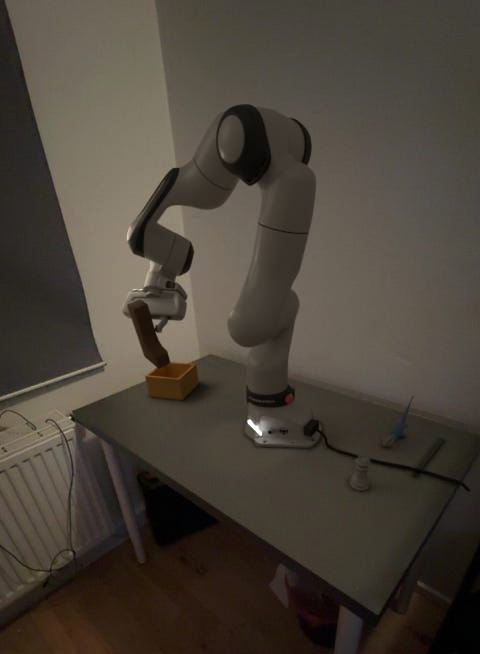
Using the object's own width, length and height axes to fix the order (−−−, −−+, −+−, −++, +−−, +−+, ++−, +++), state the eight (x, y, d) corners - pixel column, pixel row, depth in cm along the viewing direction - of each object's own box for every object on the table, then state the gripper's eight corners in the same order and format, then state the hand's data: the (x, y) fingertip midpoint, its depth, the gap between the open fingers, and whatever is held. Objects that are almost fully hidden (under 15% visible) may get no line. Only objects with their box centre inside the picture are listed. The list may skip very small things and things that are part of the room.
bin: (198, 383, 133) (196, 364, 129) (182, 400, 122) (178, 379, 118) (167, 380, 137) (164, 361, 133) (149, 396, 127) (144, 376, 122)
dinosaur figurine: (389, 446, 99) (378, 444, 91) (410, 396, 96) (401, 390, 89) (399, 450, 97) (389, 449, 90) (421, 399, 95) (412, 394, 87)
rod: (443, 442, 94) (444, 439, 93) (415, 478, 82) (416, 476, 82) (440, 441, 94) (441, 439, 94) (412, 477, 83) (413, 474, 83)
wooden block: (171, 362, 107) (156, 309, 94) (158, 369, 106) (141, 315, 92) (156, 351, 112) (140, 298, 99) (144, 357, 111) (126, 304, 97)
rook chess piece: (365, 478, 83) (370, 451, 79) (372, 491, 79) (377, 463, 75) (346, 479, 83) (350, 452, 79) (352, 492, 79) (356, 465, 75)
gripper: (124, 283, 107) (112, 324, 104) (183, 283, 100) (173, 327, 98) (135, 294, 112) (125, 334, 110) (192, 296, 106) (182, 338, 104)
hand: (148, 331), depth 104 cm, fingers closed on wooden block, 5 cm apart
